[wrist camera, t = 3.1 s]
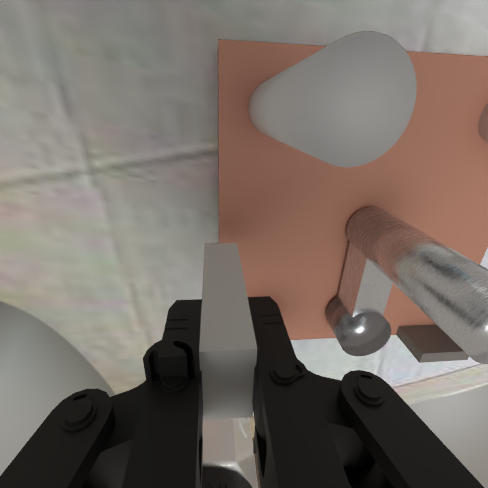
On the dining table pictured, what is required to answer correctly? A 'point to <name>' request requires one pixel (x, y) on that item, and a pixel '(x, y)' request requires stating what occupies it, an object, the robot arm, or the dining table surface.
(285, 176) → the seat
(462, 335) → the shiny metal angled handle
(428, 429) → the robot arm
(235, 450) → the jar
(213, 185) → the dining table surface
